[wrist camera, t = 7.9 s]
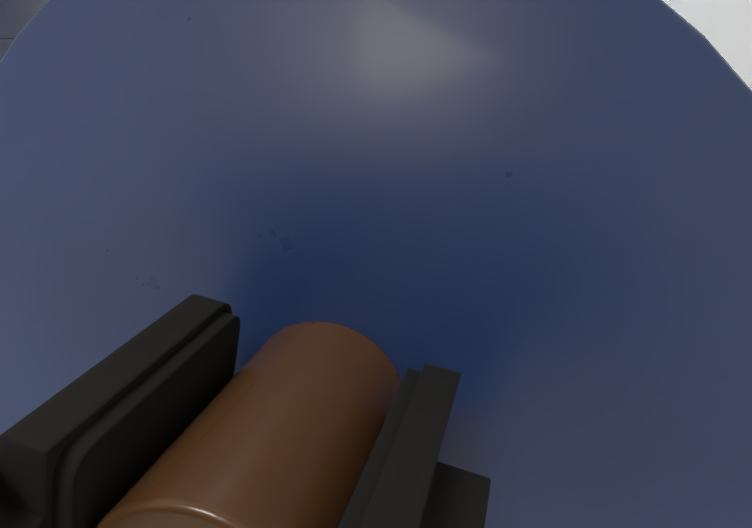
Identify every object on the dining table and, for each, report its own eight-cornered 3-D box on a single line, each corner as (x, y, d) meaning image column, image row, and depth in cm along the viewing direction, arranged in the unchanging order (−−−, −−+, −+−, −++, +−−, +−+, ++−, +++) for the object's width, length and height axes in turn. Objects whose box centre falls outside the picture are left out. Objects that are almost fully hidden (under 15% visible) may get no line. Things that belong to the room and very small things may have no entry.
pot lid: (-13, -179, 11) (-566, -377, 5) (1026, 14, 8) (1831, -4, 3) (-1, 538, 16) (-273, 787, 11) (630, 779, 14) (675, 1246, 8)
